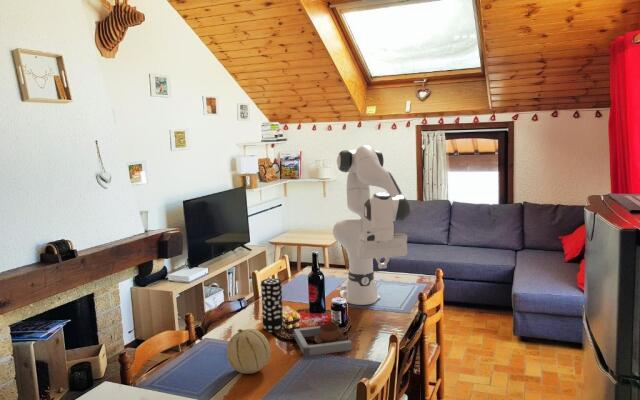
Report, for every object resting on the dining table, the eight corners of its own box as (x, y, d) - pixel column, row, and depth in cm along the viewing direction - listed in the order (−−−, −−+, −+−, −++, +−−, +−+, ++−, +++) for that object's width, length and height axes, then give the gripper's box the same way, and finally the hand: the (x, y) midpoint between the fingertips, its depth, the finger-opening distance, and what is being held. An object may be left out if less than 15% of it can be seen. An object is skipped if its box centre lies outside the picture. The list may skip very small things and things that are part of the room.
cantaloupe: (273, 378, 174) (272, 335, 172) (228, 384, 171) (226, 340, 169) (268, 359, 188) (266, 319, 186) (226, 364, 185) (224, 323, 183)
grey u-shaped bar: (293, 336, 209) (293, 329, 208) (337, 331, 213) (337, 324, 212) (304, 356, 190) (304, 348, 190) (351, 350, 195) (351, 342, 194)
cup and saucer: (348, 338, 206) (348, 322, 205) (341, 350, 195) (340, 334, 194) (319, 335, 210) (318, 320, 209) (310, 347, 198) (309, 331, 197)
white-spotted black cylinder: (280, 332, 213) (278, 284, 210) (260, 331, 214) (258, 284, 212) (285, 325, 221) (283, 278, 218) (266, 324, 222) (264, 278, 220)
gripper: (404, 230, 213) (403, 263, 215) (355, 234, 208) (356, 267, 210) (410, 233, 207) (410, 267, 209) (360, 237, 202) (360, 272, 204)
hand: (382, 267), depth 210 cm, fingers closed
